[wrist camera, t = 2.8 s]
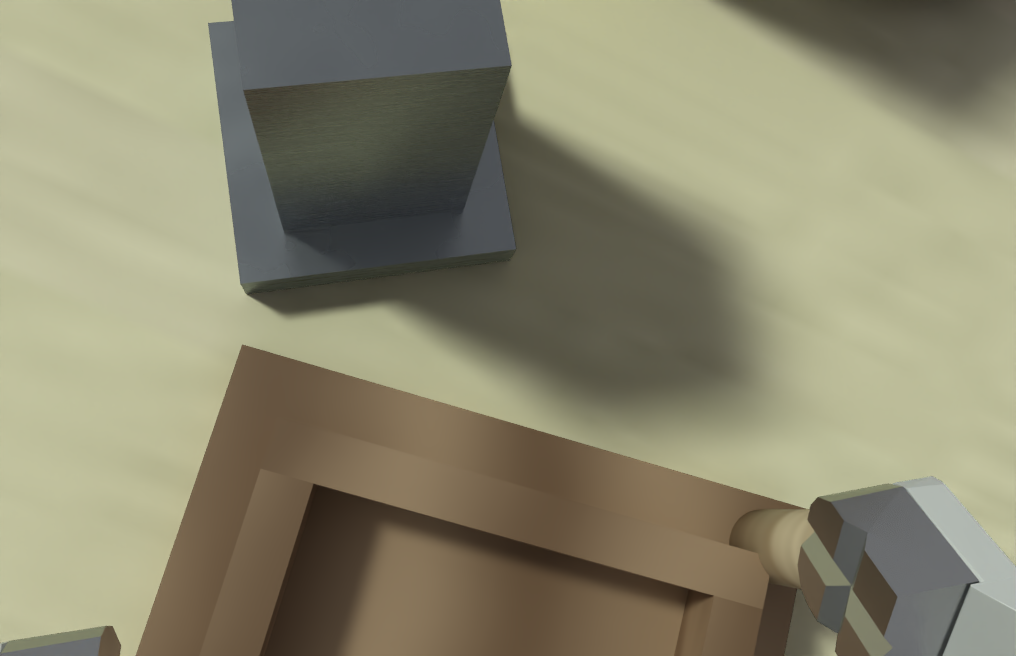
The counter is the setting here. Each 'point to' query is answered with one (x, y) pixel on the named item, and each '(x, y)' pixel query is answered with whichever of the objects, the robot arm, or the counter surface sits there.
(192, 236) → the counter surface
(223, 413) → the brown wooden square tray
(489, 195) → the grey block on base
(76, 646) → the robot arm
